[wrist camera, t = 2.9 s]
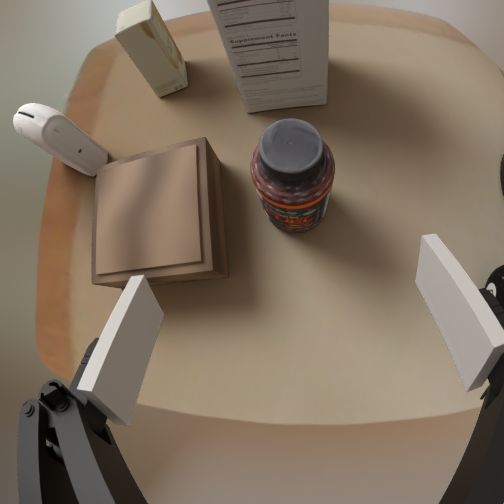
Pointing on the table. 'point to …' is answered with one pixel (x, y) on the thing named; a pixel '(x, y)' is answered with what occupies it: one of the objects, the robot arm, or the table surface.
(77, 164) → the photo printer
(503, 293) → the billiard ball
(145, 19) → the skincare box
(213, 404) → the table surface
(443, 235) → the table surface
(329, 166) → the supplement bottle
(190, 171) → the wooden box
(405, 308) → the table surface
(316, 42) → the supplement box
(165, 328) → the table surface
